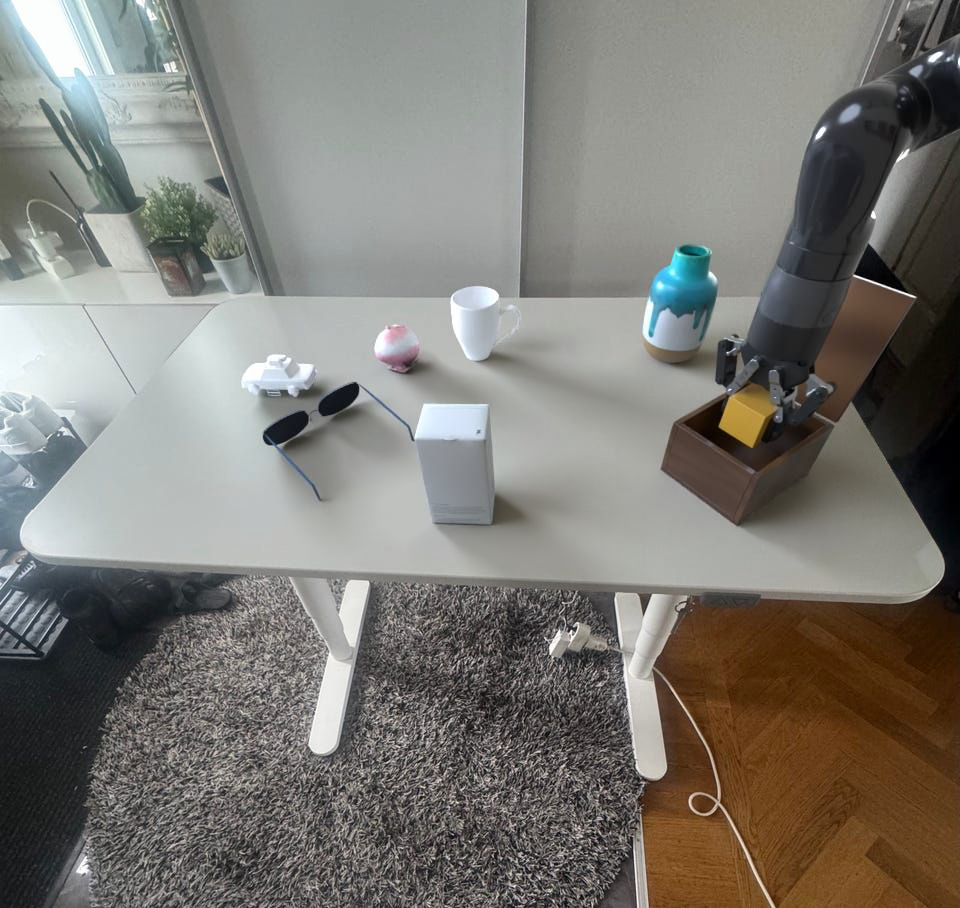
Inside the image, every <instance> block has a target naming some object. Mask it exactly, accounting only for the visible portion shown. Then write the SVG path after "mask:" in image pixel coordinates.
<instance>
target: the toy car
mask: <svg viewBox="0 0 960 908" xmlns="http://www.w3.org/2000/svg"><path fill="white" fill-rule="evenodd" d="M266 360H267V361H266V362H263V363H254V364H252V365H250V366H249V367H248V368H247V370H246V372H245V373H244V374H243V376H242V380H241V383H240V384H241V387H242V389H246V388H248V391H249V392H250V393H251V394H253V395H254V396H258V395H259V393H260V392H261V390H266V392H267V395H268V396H273V397H277V396H278V397H281V396H282V394H281V390H287V392H288V394H289V395H290V396H293V397H294V398H297V397H298V395H299V393H300V390H310V388H311V387H312V385H313V384H314V382H315V381H316V378H317V376H318V370H317V369H316V366H314V365H313V364H312V363H311V364H310V363H309V364H308V363H297V362H296V361H295V360H294V359H292V358H291V357H288V356H286V355H285V354H271V355H269V356H267V357H266ZM269 390H278V391H269Z"/></svg>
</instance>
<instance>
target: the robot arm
mask: <svg viewBox="0 0 960 908" xmlns="http://www.w3.org/2000/svg"><path fill="white" fill-rule="evenodd" d="M959 130H960V32H959V33H958V34H956V35H954V36H952V37H950V38H948V39H947V40H944V41H943V42H941V43H939V44H938V45H937V44H936V46H934V47H932V48H930V49H928V50H926V51H925V52H923V53H921V54H919V55H917V56H916V57H914V58H912V59H910V60H909V61H906V62H905V63H903V64H901V65H899V66H897V67H896V68H894V69H892V70H890V71H888V72H886V73H884V74H883V75H881V76H879V77H877V78H875V79H872V80H871V81H869V82H867V83H864V84H862V85H860V86H858V87H855V88H853V89H851V90H849V91H847V92H846V93H845V92H844V94H842V95H840V96H839V97H838V98H837V99H835V100H834V101H833V102H832V103H831V104H830V105H829V106H828V107H827V108H826V109H825V110H824V112H823V113H822V114H821V116H820V117H819V118H818V120H817V122H816V124H815V125H814V128H813V130H812V132H811V134H810V137H809V140H807V144H806V147H805V151H804V153H803V156H802V161H801V165H800V169H799V174H798V176H799V177H798V180H797V187H796V193H795V197H794V208H793V216H792V219H791V221H790V223H789V225H788V227H787V230H786V232H785V236H784V239H783V241H782V244H781V246H780V249H779V252H778V254H777V258H776V261H775V262H774V265H773V267H772V269H771V270H770V272H769V275H768V277H767V279H766V281H765V284H764V286H763V288H762V290H761V292H760V298H759V301H758V303H757V306H756V309H755V312H754V314H753V318H752V320H751V323H750V326H749V329H748V332H747V337H746V338H745V339H741V338H740V336H739V335H738V334H737V333H732V334H731V335H728V336H726V337H724V338H722V339H721V340H719V341H718V342H717V351H716V364H715V374H714V375H715V377H714V382H715V383H716V384H717V385H719V386H723V388H725V392H726V393H727V394H726V397H725V400H724V403H723V405H722V412H723V413H724V411H725V408H726V405H727V402H728V400H729V397H730V396H732V395H734V394H735V393H737V392H739V391H740V390H742V389H744V388H745V387H747V386H748V385H749V384H750V383H751V382H752V383H754V384H757V385H760V386H762V387H763V388H764V389H766V390H767V391H769V392H770V404H772V405H773V412H772V417H773V418H771V419H770V421H769V423H768V425H767V428H766V430H765V432H764V434H763V437H762V439H761V441H763V442H764V443H766V444H767V443H768V442H770V441H771V442H773V441H774V440H776V439H777V438H779V437H780V436H782V434H783V432H784V430H785V428H786V426H787V424H788V423H789V424H790V425H791V426H793V427H796V426H798V425H800V424H801V423H803V422H804V421H806V420H807V419H809V418H810V417H811V416H812V415H813V414H815V413H816V411H817V410H818V408H819V407H820V406H821V405H822V404H823V403H824V402H825V401H826V400H827V399H828V398H829V397H830V396H831V395H832V394H833V393H834V392H835V391H836V389H837V384H836V383H835V382H833V381H829V382H827V383H825V382H824V381H823V380H822V379H820V378H819V377H818V376H816V375H815V361H816V359H817V357H818V355H819V353H820V351H821V349H822V347H823V345H824V343H825V341H826V338H827V336H828V334H829V332H830V330H831V328H832V326H833V324H834V322H835V320H836V317H837V315H838V313H839V311H840V309H841V307H842V305H843V303H844V301H845V298H846V296H847V293H848V290H849V287H850V283H851V280H852V277H853V275H855V273H856V270H857V268H858V267H859V264H860V262H861V260H862V258H863V256H864V253H865V251H866V249H867V247H868V245H869V242H870V240H871V238H872V236H873V232H874V230H875V225H876V221H877V219H876V214H875V212H874V210H875V208H876V206H877V204H878V201H879V199H880V197H881V194H882V192H883V189H884V188H885V185H886V183H887V180H888V179H889V176H890V175H891V172H892V171H893V169H894V167H895V165H896V164H897V163H898V162H899V161H901V160H902V159H904V158H906V157H908V156H910V155H911V154H913V153H915V152H917V151H919V150H922V149H923V148H925V147H927V146H929V145H932V144H933V143H935V142H937V141H939V140H941V139H943V138H945V137H948V136H949V135H951V134H954V133H955V132H957V131H959ZM739 354H740V356H741V359H742V364H743V369H742V370H741V371H740V372H738V374H737V367H738V358H739ZM804 382H805V383H806V385H807V390H806V394H805V397H807V399H806V400H805V402H804V403H803V404H802V405H801V404H800V405H799V406H800V407H799V408H798V409H795V404H796V402H795V398H796V396H797V394H798V385H800V384H802V383H804Z"/></svg>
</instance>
